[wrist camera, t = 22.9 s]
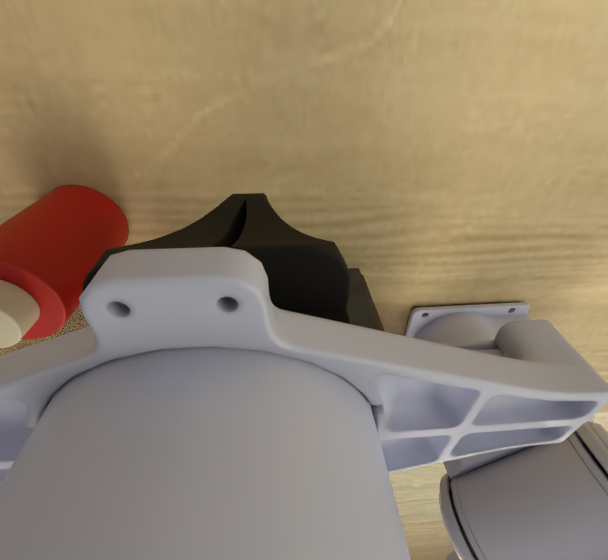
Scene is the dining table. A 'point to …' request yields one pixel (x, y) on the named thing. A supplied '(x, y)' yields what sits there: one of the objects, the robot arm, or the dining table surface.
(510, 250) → the dining table surface
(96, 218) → the red plastic cylinder
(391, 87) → the dining table surface
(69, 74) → the dining table surface
